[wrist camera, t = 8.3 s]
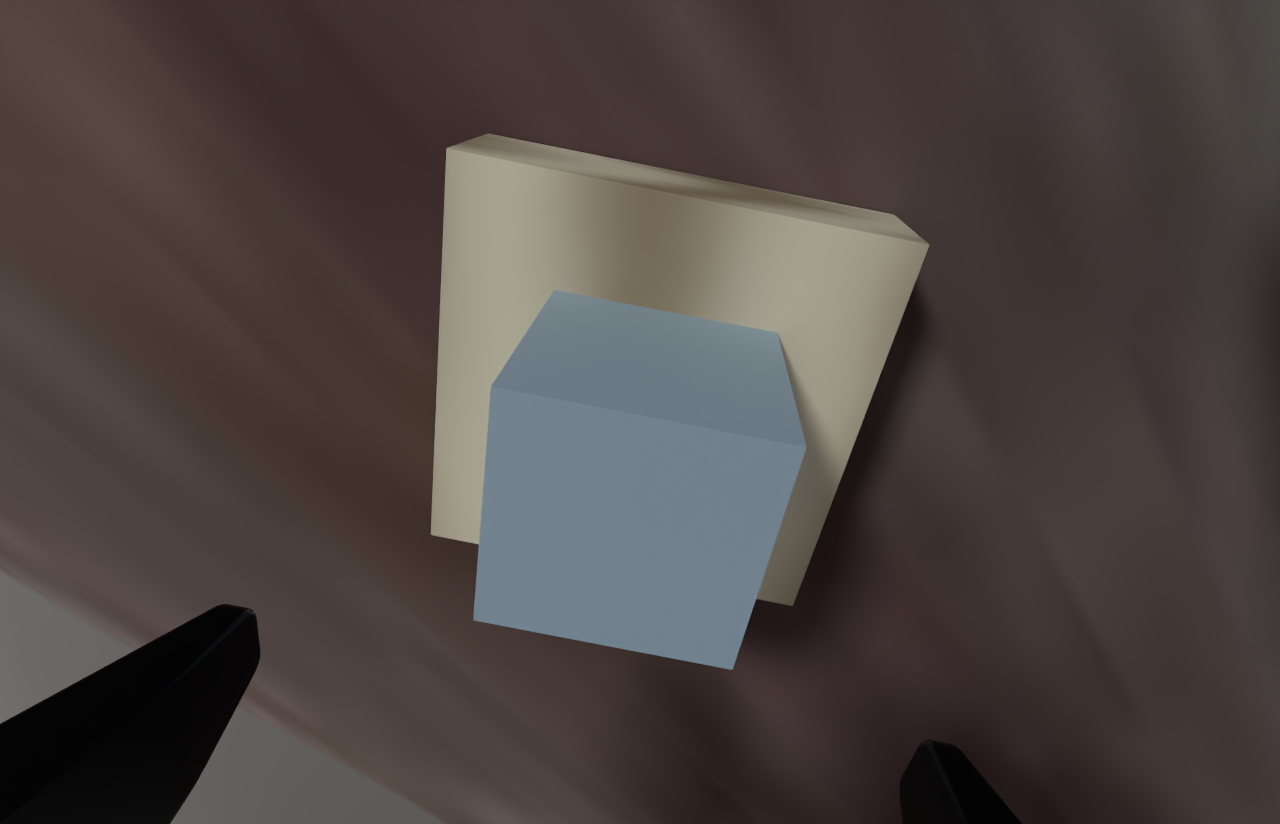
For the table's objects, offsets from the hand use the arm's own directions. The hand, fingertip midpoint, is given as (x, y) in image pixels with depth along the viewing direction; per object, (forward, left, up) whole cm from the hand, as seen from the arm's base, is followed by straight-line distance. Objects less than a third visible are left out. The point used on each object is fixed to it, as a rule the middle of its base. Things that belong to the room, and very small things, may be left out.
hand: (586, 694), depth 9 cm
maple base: (0, 0, -11) cm, 11 cm away
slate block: (0, 0, -8) cm, 8 cm away
